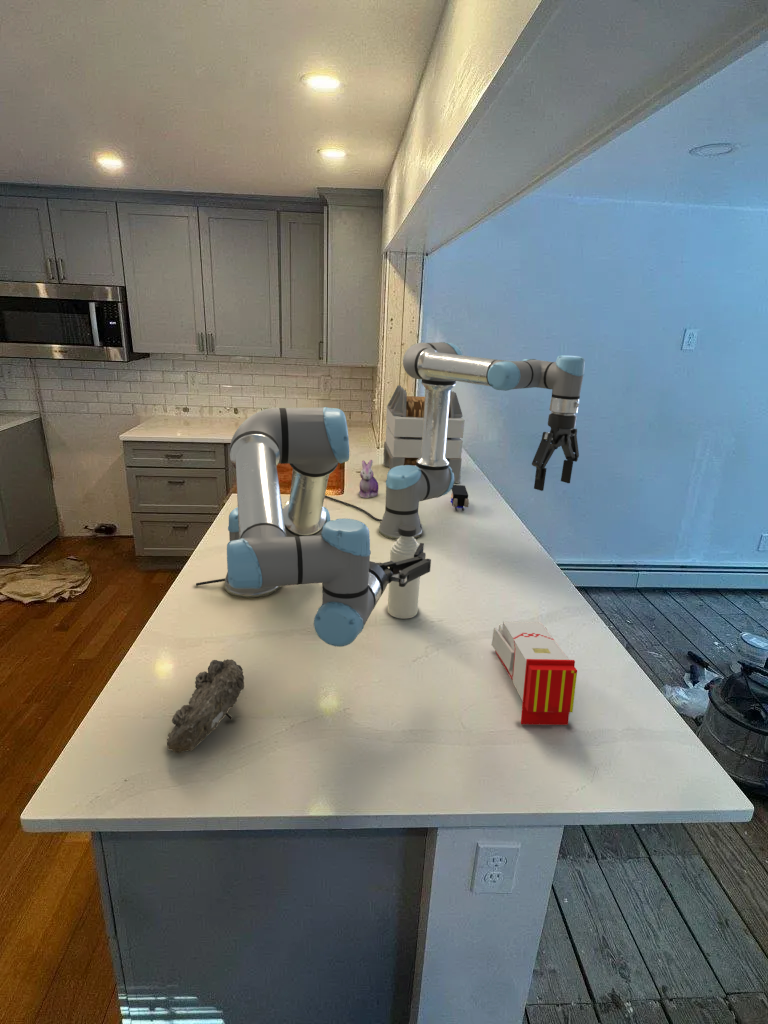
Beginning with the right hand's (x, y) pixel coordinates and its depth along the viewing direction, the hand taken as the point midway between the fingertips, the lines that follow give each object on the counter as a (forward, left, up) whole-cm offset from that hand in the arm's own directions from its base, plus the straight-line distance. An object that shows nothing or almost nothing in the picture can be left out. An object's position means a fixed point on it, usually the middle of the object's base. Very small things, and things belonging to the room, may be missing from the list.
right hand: (552, 485), depth 166 cm
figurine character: (-56, +25, -28) cm, 67 cm away
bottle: (-8, -50, -28) cm, 58 cm away
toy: (+31, -49, -28) cm, 65 cm away
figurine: (-88, +4, -28) cm, 93 cm away
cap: (-8, -50, -5) cm, 51 cm away
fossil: (0, -107, -28) cm, 110 cm away
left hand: (+4, -66, -1) cm, 66 cm away
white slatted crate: (-101, +46, -28) cm, 115 cm away
